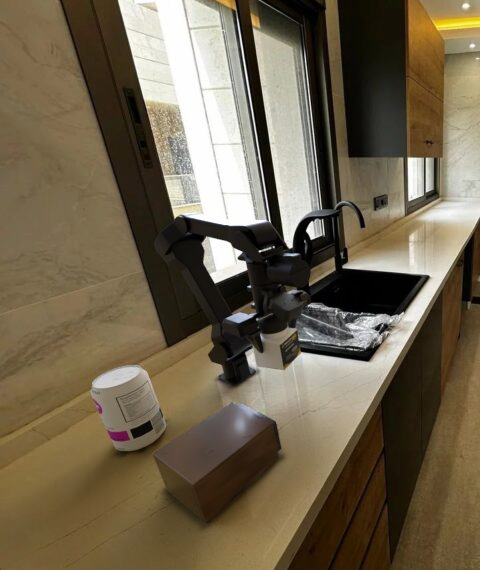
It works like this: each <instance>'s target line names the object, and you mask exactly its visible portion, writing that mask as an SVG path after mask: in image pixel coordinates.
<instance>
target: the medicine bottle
mask: <svg viewBox="0 0 480 570" xmlns="http://www.w3.org/2000/svg"><path fill="white" fill-rule="evenodd" d="M258 325H259V326H258V328H261V329H263V330H262V332H261V333H260V335H261V340H262V344H263V351H264V352H263V353H259V352H258V351H257V349H256V348H255V347H254V346H253V349H252V350H253V354H254V359H255V365H256V367H258V368H263V369H264V368H265V369H272V370H279V371H286V369H288V367H289V366H290V365H291V364H292V363H293V362H294V361H295V360H296V359H297V358H298V357H299V356H300V355H301V353H302V352H301V346H300V339H299V333H298V329H297V328H296V327H295V328H288V322H283V321H282V320H281V319H280V318H279V317H277V316H276V315H274V314H272V315H270V316H268V317H265V318H263V319H261V320H259V321H258Z"/></svg>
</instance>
